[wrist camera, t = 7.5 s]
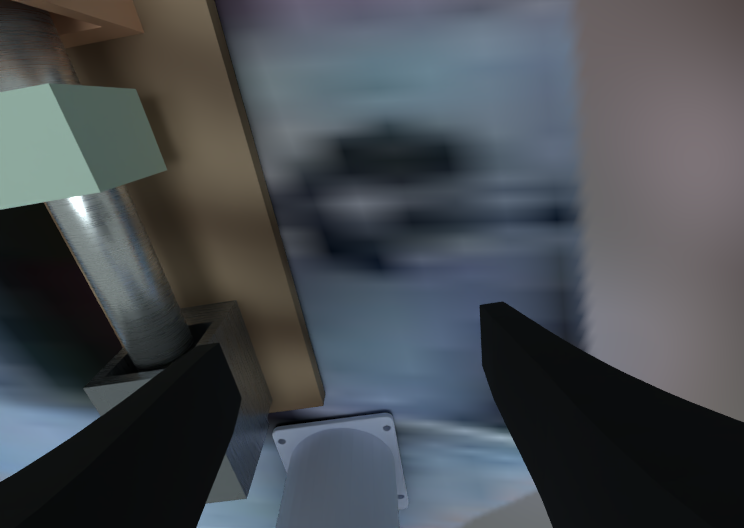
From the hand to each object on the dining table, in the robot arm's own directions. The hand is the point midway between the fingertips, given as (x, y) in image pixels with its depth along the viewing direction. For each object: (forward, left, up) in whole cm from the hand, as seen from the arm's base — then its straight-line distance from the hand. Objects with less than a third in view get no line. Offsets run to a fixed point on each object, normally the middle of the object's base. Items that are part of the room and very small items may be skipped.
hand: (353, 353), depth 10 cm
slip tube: (+5, +9, -7) cm, 12 cm away
